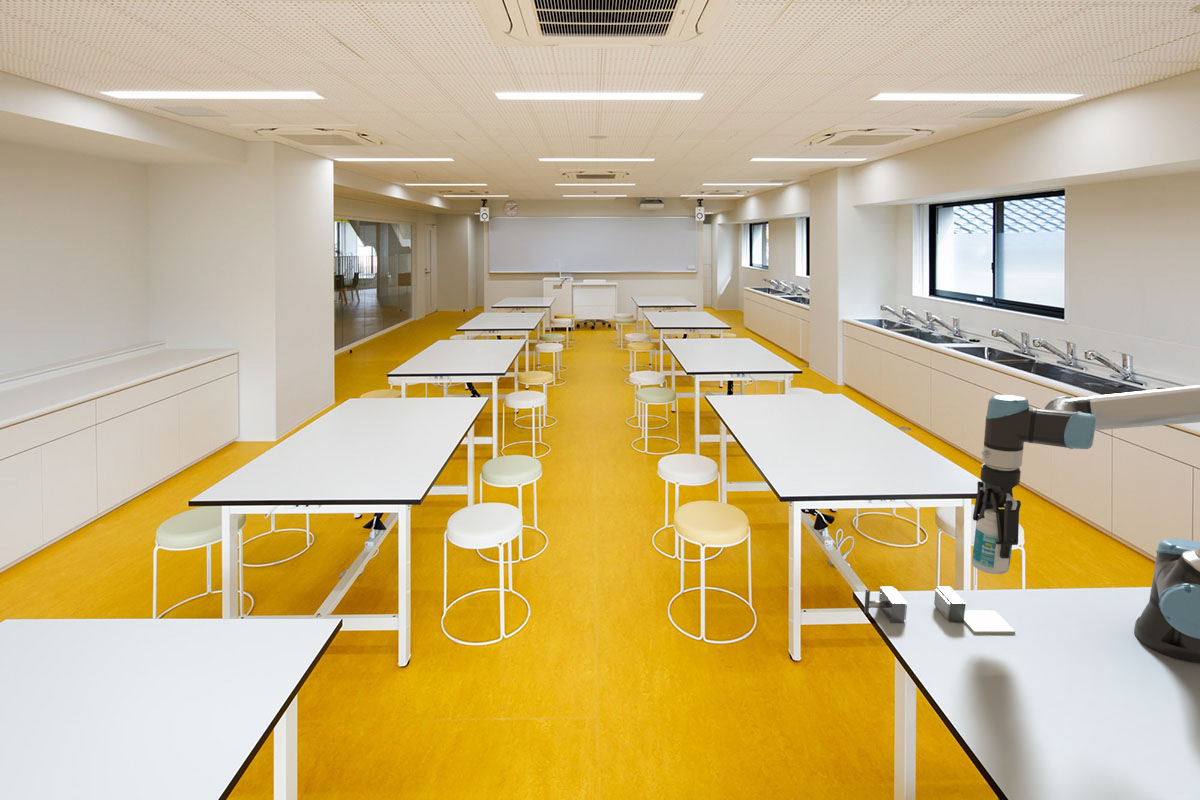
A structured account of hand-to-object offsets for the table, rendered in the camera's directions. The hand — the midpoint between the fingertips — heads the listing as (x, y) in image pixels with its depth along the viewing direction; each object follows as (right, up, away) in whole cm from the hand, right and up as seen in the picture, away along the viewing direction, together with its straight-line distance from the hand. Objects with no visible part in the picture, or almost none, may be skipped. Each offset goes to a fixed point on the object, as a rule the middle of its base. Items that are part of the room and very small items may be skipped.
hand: (990, 561), depth 155 cm
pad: (0, -15, +3) cm, 15 cm away
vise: (-15, -15, +8) cm, 23 cm away
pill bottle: (0, -2, 0) cm, 2 cm away
